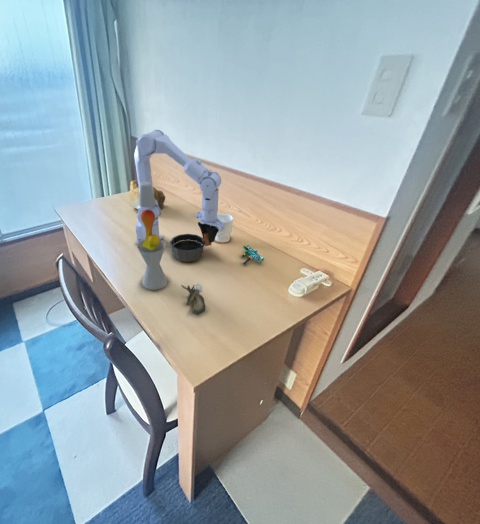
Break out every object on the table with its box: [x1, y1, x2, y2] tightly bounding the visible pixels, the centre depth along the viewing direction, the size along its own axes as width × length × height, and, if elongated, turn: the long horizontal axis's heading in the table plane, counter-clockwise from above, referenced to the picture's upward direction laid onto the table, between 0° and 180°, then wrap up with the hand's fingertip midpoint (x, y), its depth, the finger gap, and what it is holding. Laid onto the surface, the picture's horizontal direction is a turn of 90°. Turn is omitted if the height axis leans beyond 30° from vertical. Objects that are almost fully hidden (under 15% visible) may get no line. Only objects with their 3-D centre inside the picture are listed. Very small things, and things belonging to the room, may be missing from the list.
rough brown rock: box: [129, 179, 166, 210], centre depth 148 cm, size 23×17×15 cm
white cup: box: [214, 213, 234, 243], centre depth 119 cm, size 8×8×10 cm
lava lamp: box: [136, 182, 168, 291], centre depth 88 cm, size 9×9×35 cm
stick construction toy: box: [241, 244, 265, 266], centre depth 106 cm, size 12×7×8 cm
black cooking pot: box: [169, 233, 212, 263], centre depth 109 cm, size 16×13×8 cm
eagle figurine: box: [181, 283, 206, 316], centre depth 86 cm, size 8×7×9 cm
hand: (208, 240), depth 110 cm, fingers open, 3 cm apart
